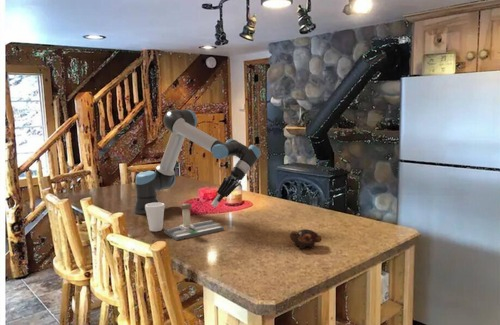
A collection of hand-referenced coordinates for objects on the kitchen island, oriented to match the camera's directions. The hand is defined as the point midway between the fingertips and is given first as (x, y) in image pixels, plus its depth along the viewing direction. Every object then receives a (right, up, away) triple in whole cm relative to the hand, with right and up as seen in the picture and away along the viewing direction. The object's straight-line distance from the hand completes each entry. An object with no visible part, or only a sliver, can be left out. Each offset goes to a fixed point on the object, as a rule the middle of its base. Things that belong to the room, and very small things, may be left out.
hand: (213, 205), depth 209 cm
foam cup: (-29, -12, -1) cm, 32 cm away
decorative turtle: (+43, -15, -29) cm, 55 cm away
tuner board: (-10, -12, -6) cm, 17 cm away
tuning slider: (-11, -11, -10) cm, 18 cm away
